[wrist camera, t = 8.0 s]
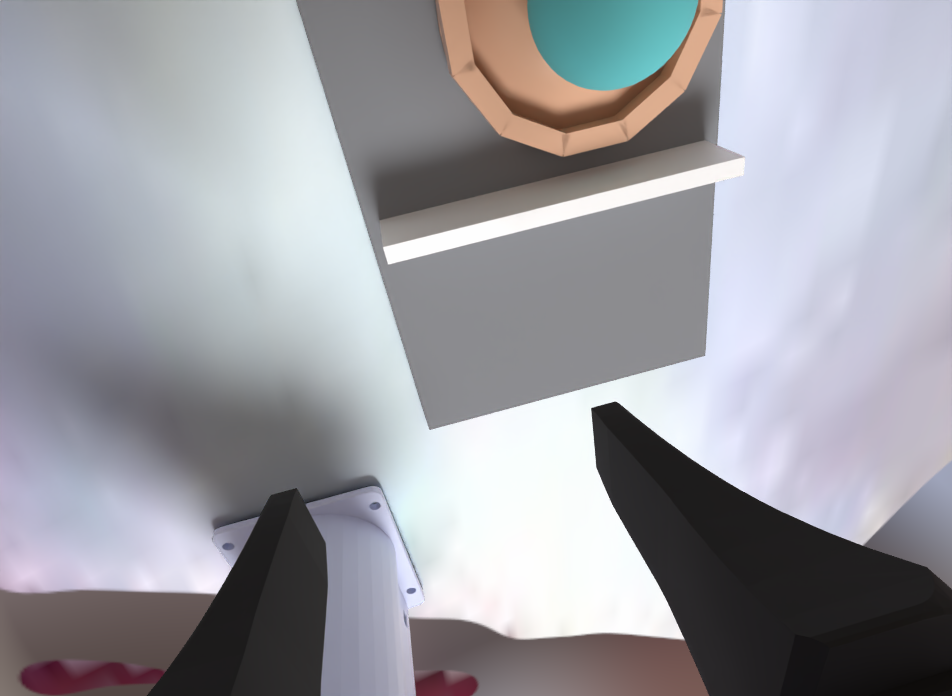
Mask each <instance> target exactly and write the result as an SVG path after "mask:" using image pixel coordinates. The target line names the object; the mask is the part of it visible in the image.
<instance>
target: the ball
mask: <svg viewBox="0 0 952 696" xmlns="http://www.w3.org/2000/svg"><path fill="white" fill-rule="evenodd" d="M697 5H698V0H527V9H528V20H529V25H530V30H531V33H532V37H533V40H534V42H535V44H536V47H537V49H538V51H539V52H540V54H541V56H542V57H543V59H544V60H545V61H546V63H547V64H548V65H549V66H550V68H551V69H552V70H553V71H554V72H555V73H557V74H558V75H559V76H560V77H562V78H563V79H565V80H566V81H568V82H570V83H572V84H574V85H576V86H578V87H582V88H585V89H590V90H598V91H609V90H616V89H621V88H625V87H628V86H631V85H634V84H636V83H638V82H640V81H642V80H644V79H645V78H647V77H648V76H650V75H652V74H653V73H655V72H656V71H657V70H658V69H659V68H661V67H662V66H663V65H664V64H665V63H666V62H667V61H668V60H669V59H670V58H671V57H672V55H673V54H674V53H675V51H676V50H677V49H678V47H679V46H680V45H681V43H682V41H683V40H684V38H685V37H686V35H687V33H688V31H689V28H690V26H691V24H692V21H693V19H694V16H695V12H696V9H697Z"/></svg>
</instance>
